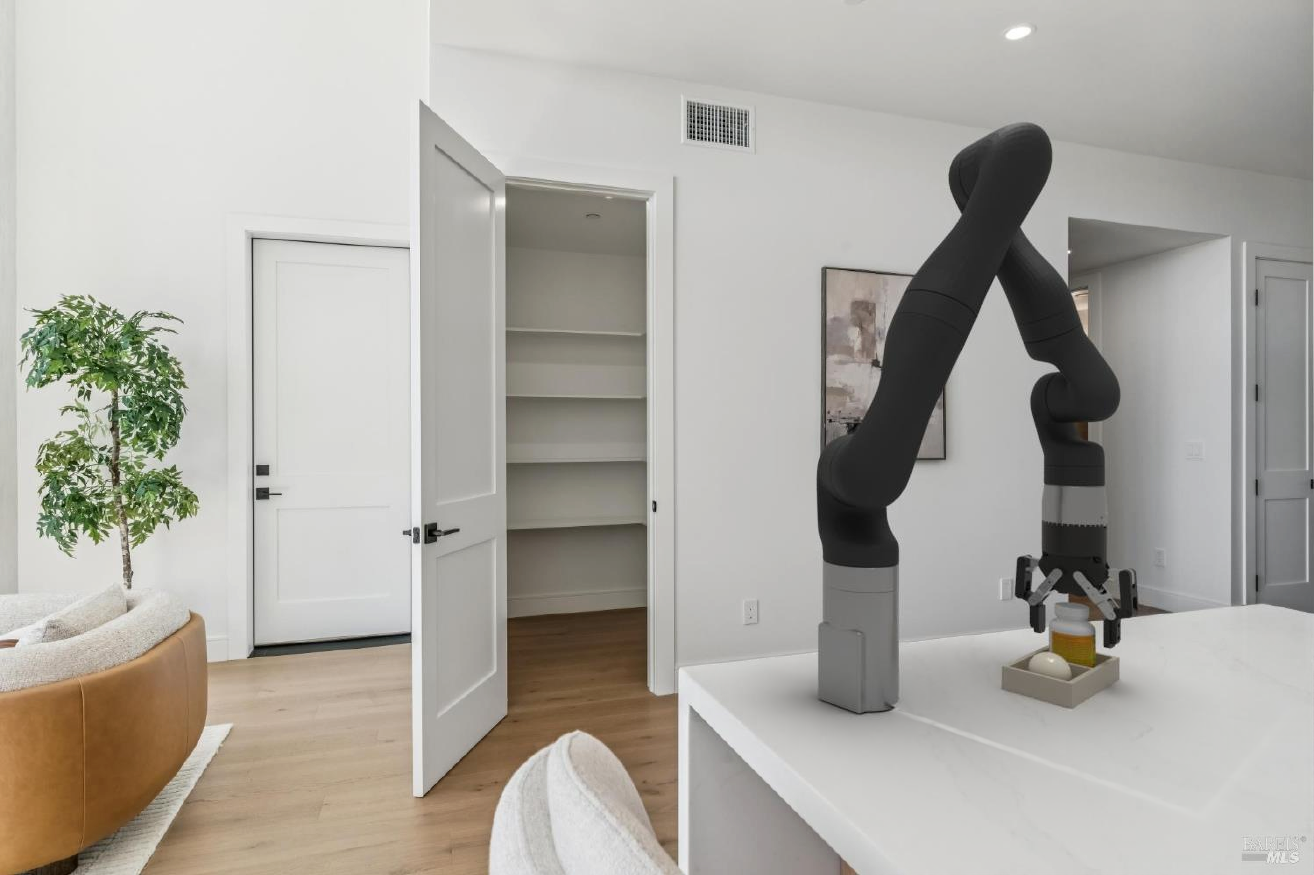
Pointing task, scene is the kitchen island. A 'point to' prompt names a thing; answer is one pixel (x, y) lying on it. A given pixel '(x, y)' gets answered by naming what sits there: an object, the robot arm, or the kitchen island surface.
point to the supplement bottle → (1073, 634)
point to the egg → (1050, 666)
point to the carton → (1057, 690)
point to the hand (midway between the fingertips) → (1073, 639)
